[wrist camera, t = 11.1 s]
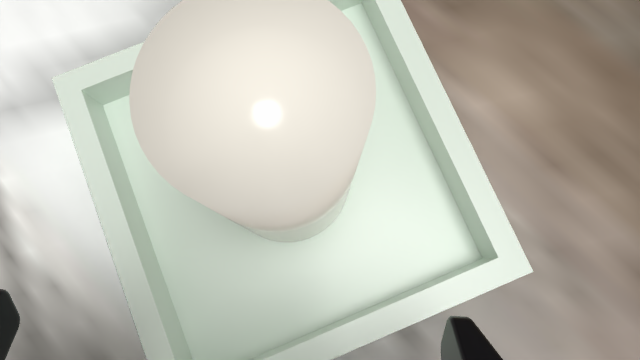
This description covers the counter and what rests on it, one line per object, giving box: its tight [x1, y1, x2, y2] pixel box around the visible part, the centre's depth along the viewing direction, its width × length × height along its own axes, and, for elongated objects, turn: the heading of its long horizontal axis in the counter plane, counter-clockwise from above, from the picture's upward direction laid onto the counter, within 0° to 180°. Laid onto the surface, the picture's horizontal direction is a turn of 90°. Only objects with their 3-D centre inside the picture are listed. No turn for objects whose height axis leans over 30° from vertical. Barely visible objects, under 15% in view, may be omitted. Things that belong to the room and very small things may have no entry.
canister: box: [129, 0, 376, 242], centre depth 16 cm, size 6×6×11 cm
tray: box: [52, 0, 533, 360], centre depth 21 cm, size 15×15×2 cm
